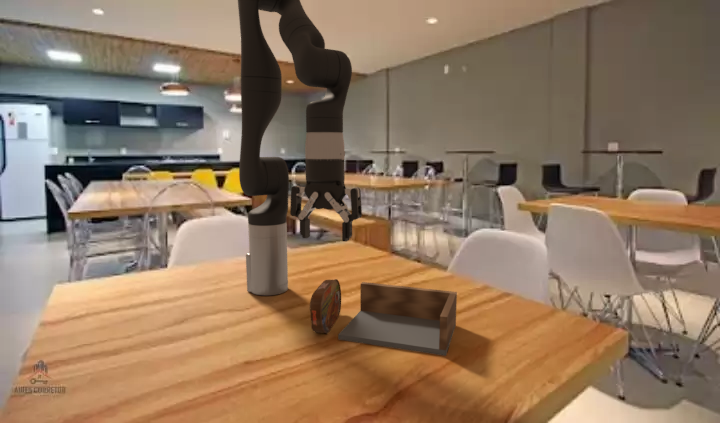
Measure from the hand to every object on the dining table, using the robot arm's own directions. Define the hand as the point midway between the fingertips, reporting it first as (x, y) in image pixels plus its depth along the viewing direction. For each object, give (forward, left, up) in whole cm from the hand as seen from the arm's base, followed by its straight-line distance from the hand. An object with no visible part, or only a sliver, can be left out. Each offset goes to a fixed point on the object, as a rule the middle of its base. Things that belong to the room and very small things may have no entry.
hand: (325, 239), depth 88 cm
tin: (0, 0, -18) cm, 18 cm away
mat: (+15, +1, -18) cm, 23 cm away
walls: (+15, +1, -18) cm, 23 cm away
